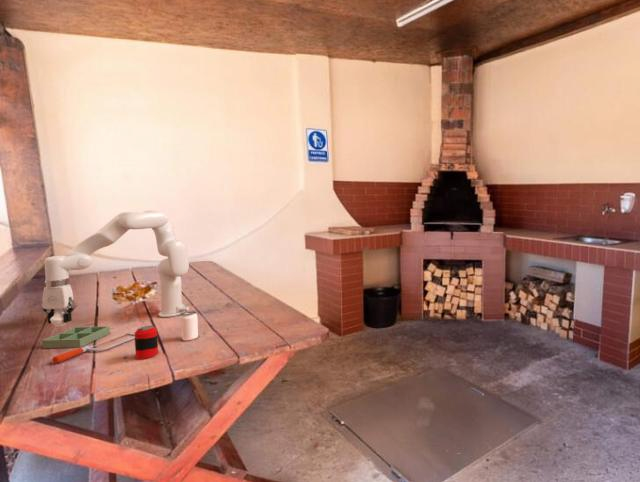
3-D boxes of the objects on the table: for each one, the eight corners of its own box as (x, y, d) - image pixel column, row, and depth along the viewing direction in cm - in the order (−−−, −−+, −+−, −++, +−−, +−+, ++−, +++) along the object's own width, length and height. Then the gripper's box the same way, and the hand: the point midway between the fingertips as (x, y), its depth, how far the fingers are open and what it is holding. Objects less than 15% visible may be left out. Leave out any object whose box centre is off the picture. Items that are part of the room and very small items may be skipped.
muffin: (68, 322, 183) (67, 307, 182) (70, 325, 179) (69, 310, 179) (49, 326, 178) (48, 311, 178) (51, 329, 174) (50, 313, 174)
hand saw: (126, 329, 191) (144, 330, 190) (126, 335, 191) (144, 336, 190) (51, 356, 159) (73, 357, 158) (51, 363, 159) (73, 365, 158)
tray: (109, 333, 191) (109, 326, 191) (80, 347, 175) (79, 339, 175) (75, 334, 191) (75, 327, 190) (42, 348, 174) (42, 340, 174)
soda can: (131, 357, 164) (130, 330, 163) (150, 350, 171) (149, 323, 170) (143, 360, 161) (141, 332, 161) (162, 353, 168) (161, 326, 168)
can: (185, 342, 180) (184, 316, 179) (179, 339, 183) (178, 314, 183) (200, 337, 185) (199, 312, 185) (194, 334, 189) (193, 310, 188)
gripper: (29, 285, 173) (31, 325, 174) (69, 284, 174) (72, 324, 175) (46, 281, 181) (48, 319, 182) (84, 280, 182) (86, 318, 182)
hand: (59, 321), depth 178 cm, fingers closed on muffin, 6 cm apart
